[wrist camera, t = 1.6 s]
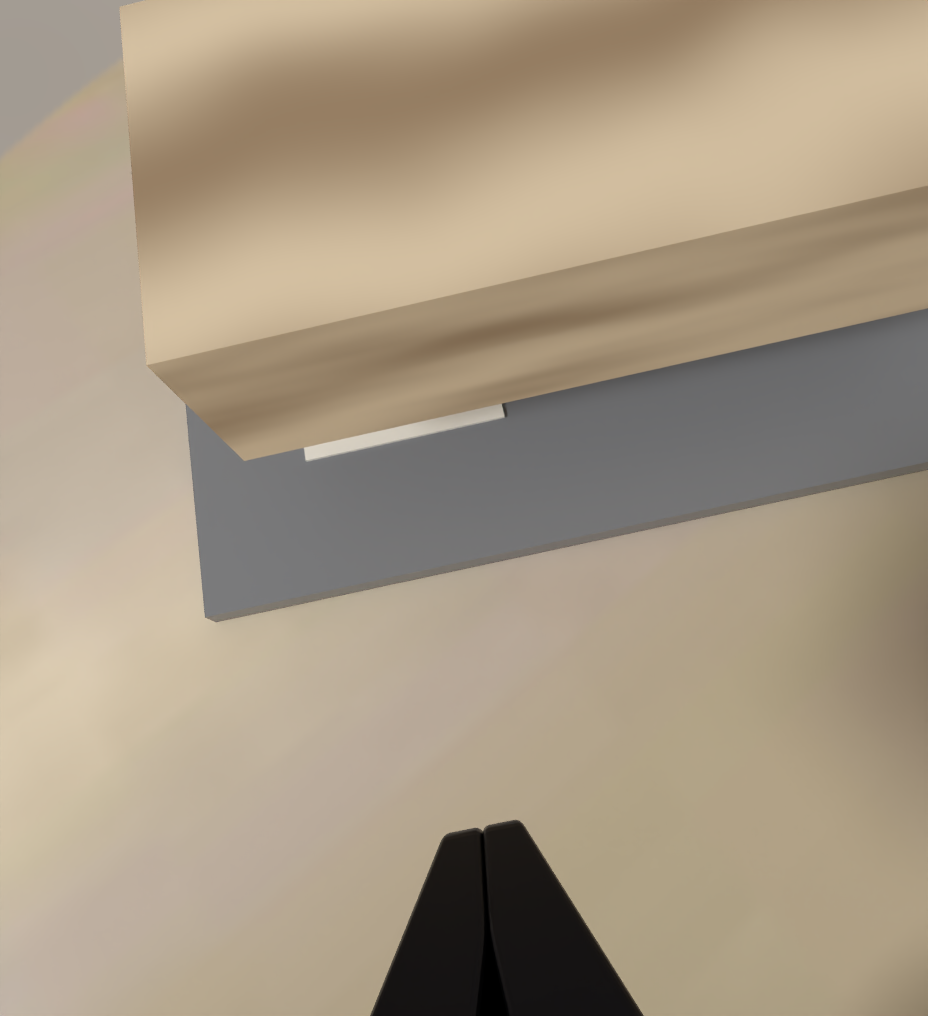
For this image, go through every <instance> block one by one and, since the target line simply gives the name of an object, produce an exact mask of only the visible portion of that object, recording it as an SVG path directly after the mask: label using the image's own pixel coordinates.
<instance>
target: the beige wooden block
mask: <svg viewBox="0 0 928 1016" xmlns="http://www.w3.org/2000/svg"><path fill="white" fill-rule="evenodd" d="M120 20H121V33H122V46H123V60H124V74H125V87H126V100H127V114H128V127H129V140H130V154H131V167H132V180H133V194H134V207H135V220H136V233H137V247H138V260H139V273H140V287H141V300H142V313H143V327H144V340H145V353H146V365H147V366H148V367H149V368H150V369H151V370H152V371H153V372H154V373H155V374H156V375H157V376H158V377H159V378H160V379H161V380H162V381H163V382H164V383H165V384H166V385H167V386H168V387H169V388H170V389H171V390H172V391H173V392H174V393H175V394H176V395H177V396H178V397H179V398H180V399H181V400H182V401H183V402H184V403H185V404H186V405H188V406H189V407H190V408H191V409H192V410H193V411H194V412H195V413H196V414H197V415H198V416H199V417H200V418H201V419H202V420H203V421H204V422H205V423H206V424H207V425H208V426H209V427H210V428H211V429H212V430H213V431H214V432H215V433H216V434H217V435H218V436H219V437H220V438H221V439H222V440H223V441H224V442H225V443H226V444H227V445H228V446H229V447H230V448H231V449H232V450H234V451H235V452H236V453H237V454H238V455H239V456H240V457H241V458H242V459H243V460H244V461H247V460H251V459H256V458H260V457H265V456H269V455H274V454H278V453H283V452H287V451H292V450H296V449H301V448H305V447H309V446H314V445H318V444H323V443H327V442H332V441H336V440H341V439H345V438H350V437H354V436H359V435H363V434H368V433H372V432H377V431H381V430H386V429H390V428H395V427H399V426H403V425H408V424H412V423H417V422H421V421H426V420H430V419H435V418H439V417H444V416H448V415H453V414H457V413H462V412H466V411H471V410H475V409H480V408H484V407H489V406H493V405H498V404H502V403H506V402H511V401H515V400H520V399H524V398H529V397H533V396H538V395H542V394H547V393H551V392H556V391H560V390H565V389H569V388H574V387H578V386H583V385H587V384H592V383H596V382H600V381H605V380H609V379H614V378H618V377H623V376H627V375H632V374H636V373H641V372H645V371H650V370H654V369H659V368H663V367H668V366H672V365H677V364H681V363H686V362H690V361H694V360H699V359H703V358H708V357H712V356H717V355H721V354H726V353H730V352H735V351H739V350H744V349H748V348H753V347H757V346H762V345H766V344H771V343H775V342H780V341H784V340H789V339H793V338H797V337H802V336H806V335H811V334H815V333H820V332H824V331H829V330H833V329H838V328H842V327H847V326H851V325H856V324H860V323H865V322H869V321H874V320H878V319H883V318H887V317H891V316H896V315H900V314H905V313H909V312H914V311H918V310H923V309H927V308H928V0H145V1H141V2H137V3H133V4H129V5H125V6H121V7H120Z"/></svg>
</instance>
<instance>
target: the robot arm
mask: <svg viewBox="0 0 928 1016" xmlns="http://www.w3.org/2000/svg"><path fill="white" fill-rule="evenodd" d="M370 1016H644V1015H643V1014H642V1012H641V1011H640V1009H639V1008H638V1006H637V1004H636V1003H635V1001H634V1000H633V998H632V996H631V995H630V993H629V992H628V990H627V988H626V987H625V985H624V984H623V982H622V980H621V979H620V977H619V976H618V974H617V973H616V971H615V969H614V968H613V966H612V965H611V963H610V961H609V960H608V958H607V957H606V955H605V953H604V952H603V950H602V949H601V947H600V945H599V944H598V942H597V941H596V939H595V937H594V936H593V934H592V933H591V931H590V930H589V928H588V926H587V925H586V923H585V922H584V920H583V918H582V917H581V915H580V914H579V912H578V910H577V909H576V907H575V906H574V904H573V902H572V901H571V899H570V898H569V896H568V895H567V893H566V891H565V890H564V888H563V887H562V885H561V883H560V882H559V880H558V879H557V877H556V875H555V874H554V872H553V871H552V869H551V867H550V866H549V864H548V863H547V861H546V859H545V858H544V856H543V855H542V853H541V852H540V850H539V848H538V847H537V845H536V844H535V842H534V840H533V839H532V837H531V836H530V834H529V832H528V831H527V829H526V828H525V826H524V825H523V823H521V822H520V821H518V820H512V821H507V822H502V823H497V824H492V825H488V826H486V827H485V828H484V831H482V830H481V829H479V828H472V829H467V830H462V831H457V832H452V833H449V834H446V835H445V836H444V837H443V839H442V840H441V843H440V845H439V847H438V850H437V852H436V855H435V857H434V860H433V862H432V865H431V867H430V869H429V872H428V874H427V877H426V879H425V882H424V884H423V887H422V889H421V892H420V894H419V897H418V899H417V902H416V904H415V906H414V909H413V911H412V914H411V916H410V919H409V921H408V924H407V926H406V929H405V931H404V934H403V936H402V939H401V941H400V943H399V946H398V948H397V951H396V953H395V956H394V958H393V961H392V963H391V966H390V968H389V971H388V973H387V976H386V978H385V980H384V983H383V985H382V988H381V990H380V993H379V995H378V998H377V1000H376V1003H375V1005H374V1008H373V1010H372V1013H371V1015H370Z"/></svg>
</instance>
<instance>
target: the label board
mask: <svg viewBox="0 0 928 1016" xmlns="http://www.w3.org/2000/svg"><path fill="white" fill-rule="evenodd" d="M186 413H187V424H188V436H189V447H190V458H191V469H192V480H193V491H194V502H195V513H196V524H197V535H198V546H199V557H200V568H201V579H202V590H203V601H204V612H205V618H208V619H210V620H212V621H215V622H219V621H224V620H228V619H233V618H238V617H242V616H247V615H252V614H256V613H261V612H266V611H270V610H275V609H279V608H284V607H289V606H293V605H298V604H303V603H307V602H312V601H317V600H321V599H326V598H331V597H335V596H340V595H345V594H349V593H354V592H359V591H363V590H368V589H373V588H377V587H382V586H387V585H391V584H396V583H401V582H405V581H410V580H415V579H419V578H424V577H429V576H433V575H438V574H443V573H447V572H452V571H457V570H461V569H466V568H471V567H475V566H480V565H485V564H489V563H494V562H499V561H503V560H508V559H513V558H517V557H522V556H527V555H531V554H536V553H541V552H545V551H550V550H555V549H559V548H564V547H569V546H573V545H578V544H583V543H587V542H592V541H597V540H601V539H606V538H610V537H615V536H620V535H624V534H629V533H634V532H638V531H643V530H648V529H652V528H657V527H662V526H666V525H671V524H676V523H680V522H685V521H690V520H694V519H699V518H704V517H708V516H713V515H718V514H722V513H727V512H732V511H736V510H741V509H746V508H750V507H755V506H760V505H764V504H769V503H774V502H778V501H783V500H788V499H792V498H797V497H802V496H806V495H811V494H816V493H820V492H825V491H830V490H834V489H839V488H844V487H848V486H853V485H858V484H862V483H867V482H872V481H876V480H881V479H886V478H890V477H895V476H900V475H904V474H909V473H914V472H918V471H923V470H928V308H927V309H923V310H918V311H914V312H909V313H905V314H900V315H896V316H891V317H887V318H883V319H878V320H874V321H869V322H865V323H860V324H856V325H851V326H847V327H842V328H838V329H833V330H829V331H824V332H820V333H815V334H811V335H806V336H802V337H797V338H793V339H789V340H784V341H780V342H775V343H771V344H766V345H762V346H757V347H753V348H748V349H744V350H739V351H735V352H730V353H726V354H721V355H717V356H712V357H708V358H703V359H699V360H694V361H690V362H686V363H681V364H677V365H672V366H668V367H663V368H659V369H654V370H650V371H645V372H641V373H636V374H632V375H627V376H623V377H618V378H614V379H609V380H605V381H600V382H596V383H592V384H587V385H583V386H578V387H574V388H569V389H565V390H560V391H556V392H551V393H547V394H542V395H538V396H533V397H529V398H524V399H520V400H515V401H511V402H506V403H502V404H498V405H493V406H489V407H484V408H480V409H475V410H471V411H466V412H462V413H457V414H453V415H448V416H444V417H439V418H435V419H430V420H426V421H421V422H417V423H412V424H408V425H403V426H399V427H395V428H390V429H386V430H381V431H377V432H372V433H368V434H363V435H359V436H354V437H350V438H345V439H341V440H336V441H332V442H327V443H323V444H318V445H314V446H309V447H305V448H301V449H296V450H292V451H287V452H283V453H278V454H274V455H269V456H265V457H260V458H256V459H251V460H247V461H244V460H243V459H242V458H241V457H240V456H239V455H238V454H237V453H236V452H235V451H234V450H232V449H231V448H230V447H229V446H228V445H227V444H226V443H225V442H224V441H223V440H222V439H221V438H220V437H219V436H218V435H217V434H216V433H215V432H214V431H213V430H212V429H211V428H210V427H209V426H208V425H207V424H206V423H205V422H204V421H203V420H202V419H201V418H200V417H199V416H198V415H197V414H196V413H195V412H194V411H193V410H192V409H191V408H190V407H189V406H188V405H186Z"/></svg>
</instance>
